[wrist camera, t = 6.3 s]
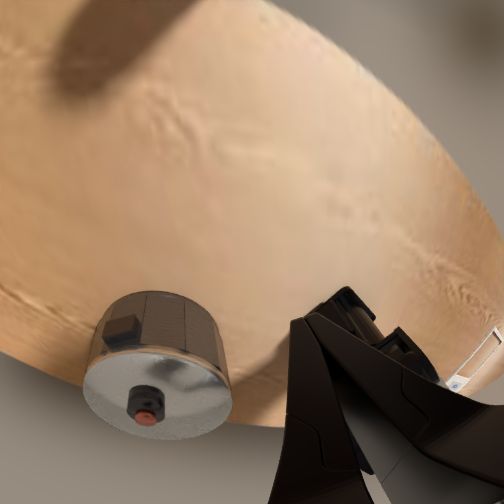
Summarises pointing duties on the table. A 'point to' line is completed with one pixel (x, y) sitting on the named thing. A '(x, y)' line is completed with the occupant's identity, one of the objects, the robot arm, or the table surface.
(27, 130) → the table surface
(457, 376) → the photo frame
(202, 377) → the lid
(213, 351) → the pot
